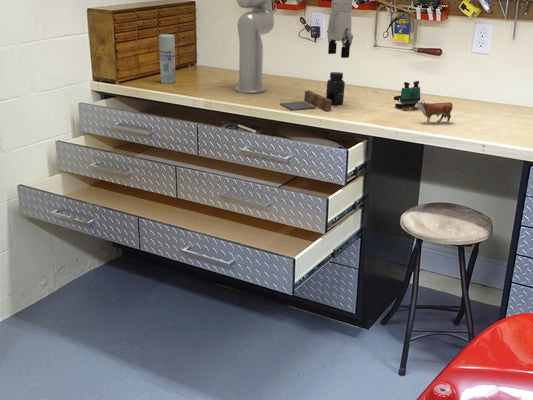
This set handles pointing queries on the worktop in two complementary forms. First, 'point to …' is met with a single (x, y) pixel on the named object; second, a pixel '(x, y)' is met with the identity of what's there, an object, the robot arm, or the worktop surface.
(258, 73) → the robot arm
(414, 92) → the binoculars
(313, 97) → the walnut rail
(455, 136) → the worktop surface
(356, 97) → the worktop surface
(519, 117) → the worktop surface
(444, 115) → the bull figurine
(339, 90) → the supplement bottle
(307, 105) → the pad
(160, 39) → the spray paint can
